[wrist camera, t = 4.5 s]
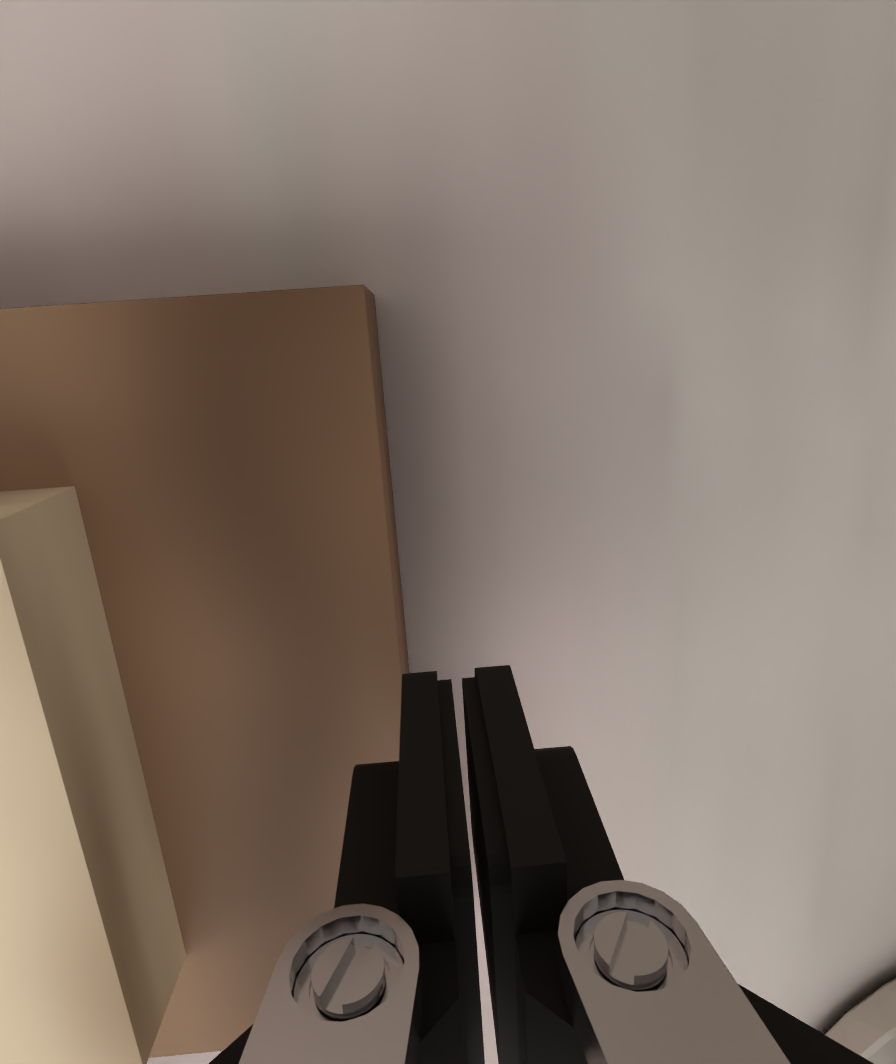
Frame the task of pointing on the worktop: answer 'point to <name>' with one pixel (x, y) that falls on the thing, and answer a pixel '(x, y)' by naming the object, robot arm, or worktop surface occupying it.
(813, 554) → the worktop surface
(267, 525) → the step block
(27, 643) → the coaster
